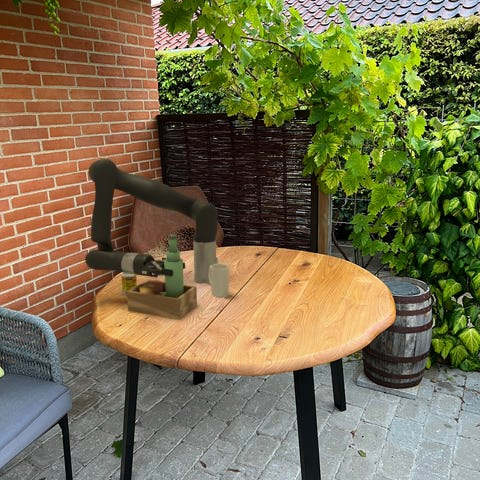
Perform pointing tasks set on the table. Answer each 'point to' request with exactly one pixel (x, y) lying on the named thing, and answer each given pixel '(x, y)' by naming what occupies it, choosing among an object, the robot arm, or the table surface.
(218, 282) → the mug
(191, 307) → the crate
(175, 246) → the green bottle
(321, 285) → the table surface
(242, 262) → the table surface
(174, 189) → the robot arm
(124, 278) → the supplement bottle
